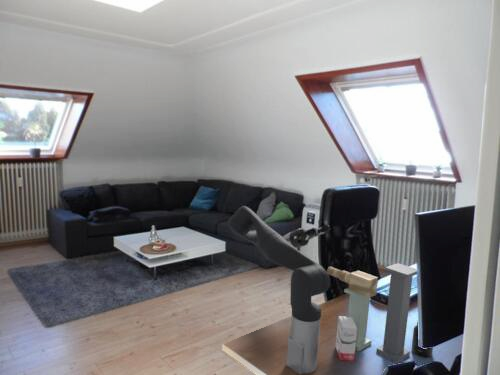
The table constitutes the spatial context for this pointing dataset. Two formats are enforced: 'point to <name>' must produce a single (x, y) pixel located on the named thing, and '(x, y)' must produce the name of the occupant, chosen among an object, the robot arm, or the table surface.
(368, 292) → the wooden leg
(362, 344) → the low stand
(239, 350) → the table surface
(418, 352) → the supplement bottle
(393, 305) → the tall stand
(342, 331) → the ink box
